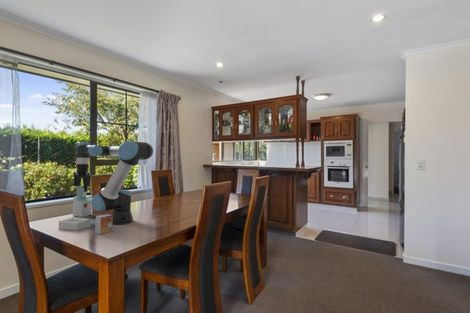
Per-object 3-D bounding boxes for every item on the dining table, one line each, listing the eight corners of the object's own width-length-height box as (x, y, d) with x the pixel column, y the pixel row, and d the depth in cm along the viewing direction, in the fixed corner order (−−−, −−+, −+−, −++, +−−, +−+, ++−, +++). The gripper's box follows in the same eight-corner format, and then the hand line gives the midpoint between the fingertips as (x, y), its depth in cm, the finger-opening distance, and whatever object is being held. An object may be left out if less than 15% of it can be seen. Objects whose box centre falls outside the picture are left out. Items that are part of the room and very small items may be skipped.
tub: (89, 226, 161) (90, 219, 161) (77, 230, 152) (77, 222, 152) (72, 224, 164) (72, 217, 165) (58, 228, 155) (59, 221, 155)
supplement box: (82, 217, 185) (82, 197, 185) (72, 216, 187) (73, 196, 187) (91, 214, 194) (92, 195, 194) (82, 213, 196) (82, 195, 196)
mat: (107, 221, 176) (107, 220, 176) (94, 225, 164) (94, 224, 164) (88, 219, 179) (89, 218, 179) (75, 223, 168) (75, 222, 168)
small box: (99, 234, 146) (100, 217, 146) (94, 233, 149) (95, 215, 149) (112, 231, 153) (113, 214, 153) (107, 229, 156) (108, 213, 156)
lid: (106, 201, 175) (107, 186, 176) (95, 203, 165) (95, 188, 165) (85, 199, 180) (85, 184, 180) (72, 201, 169) (73, 186, 169)
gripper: (96, 164, 176) (95, 196, 176) (77, 163, 180) (76, 194, 179) (88, 164, 168) (87, 197, 168) (68, 163, 172) (67, 196, 172)
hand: (81, 196), depth 174 cm, fingers closed on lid, 4 cm apart
